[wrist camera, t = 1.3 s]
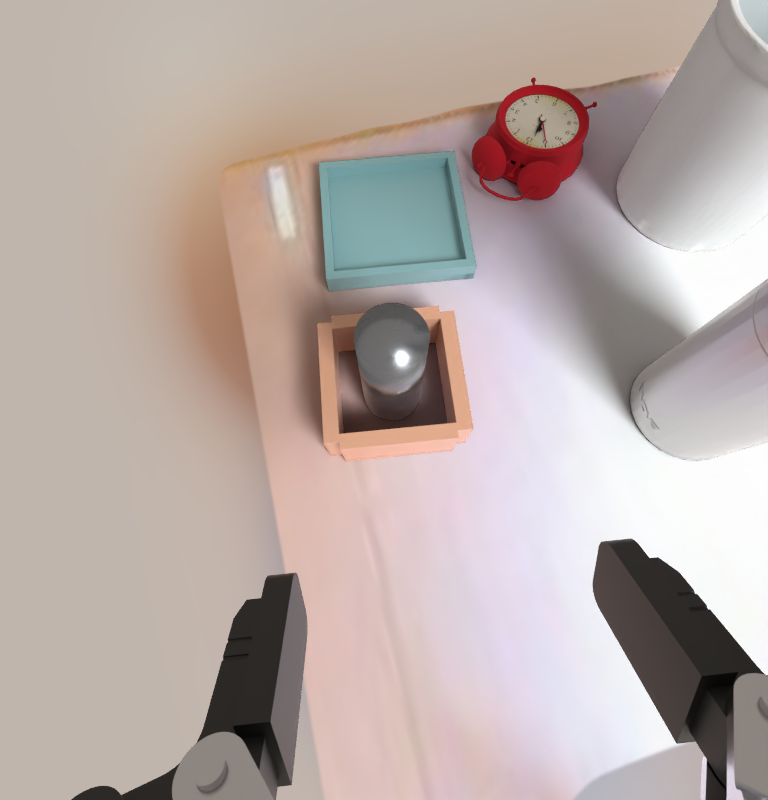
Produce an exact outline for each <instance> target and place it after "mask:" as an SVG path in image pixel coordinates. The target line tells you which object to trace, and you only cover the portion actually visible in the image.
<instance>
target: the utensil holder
mask: <svg viewBox="0 0 768 800" xmlns="http://www.w3.org/2000/svg"><path fill="white" fill-rule="evenodd" d="M617 198H618V202H619V205H620V207H621V209H622V211H623V213H624V214H625V216H626V217H627V219H628V220H629V221H630V222H631V223H632V224H633V226H634V227H636V228H637V229H638V230H639V231H640V232H641V233H642V234H644V235H645V236H647V237H648V238H650V239H651V240H653V241H655V242H657V243H659V244H661V245H663V246H666V247H669V248H672V249H676V250H680V251H687V252H707V251H713V250H717V249H720V248H723V247H726V246H728V245H730V244H731V243H733V242H735V241H736V240H737V239H739V238H740V237H741V236H743V235H744V234H745V233H747V232H748V231H749V230H750V229H751V228H753V227H754V226H755V225H756V224H758V223H759V222H760V221H761V220H762V219H764V218H765V217H766V216H767V215H768V0H718V3H717V7H716V8H715V10H714V11H713V13H712V15H711V16H710V18H709V20H708V21H707V23H706V25H705V26H704V28H703V29H702V31H701V33H700V35H699V36H698V38H697V40H696V42H695V43H694V45H693V46H692V48H691V50H690V52H689V53H688V55H687V57H686V59H685V60H684V62H683V64H682V65H681V67H680V69H679V70H678V72H677V74H676V76H675V77H674V79H673V81H672V82H671V84H670V86H669V88H668V89H667V91H666V93H665V94H664V96H663V98H662V99H661V101H660V103H659V104H658V106H657V108H656V109H655V111H654V113H653V114H652V116H651V118H650V119H649V121H648V123H647V124H646V126H645V128H644V129H643V131H642V133H641V135H640V136H639V138H638V140H637V142H636V144H635V146H634V147H633V149H632V151H631V153H630V155H629V156H628V158H627V160H626V162H625V164H624V165H623V167H622V169H621V171H620V174H619V176H618V180H617Z"/></svg>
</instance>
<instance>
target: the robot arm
mask: <svg viewBox="0 0 768 800" xmlns="http://www.w3.org/2000/svg"><path fill="white" fill-rule="evenodd" d="M630 404H631V410H632V414H633V417H634V419H635V422H636V424H637V425H638V427H639V429H640V430H641V432H642V433H643V434H644V435H645V437H646V438H647V439H648V440H649V441H650V442H651V443H652V444H654V445H655V446H656V447H658V448H659V449H660V450H662V451H664V452H666V453H668V454H670V455H672V456H675V457H678V458H681V459H685V460H695V461H698V460H707V459H711V458H715V457H718V456H721V455H725V454H728V453H731V452H735V451H738V450H742V449H746V448H749V447H752V446H756V445H759V444H763V443H766V442H768V279H767V280H765V281H764V282H763V283H761V284H760V285H759V286H757V287H756V288H754V289H753V290H752V291H750V292H749V293H748V294H746V295H745V296H743V297H742V298H741V299H739V300H738V301H737V302H735V303H734V304H733V305H731V306H730V307H728V308H727V309H726V310H724V311H723V312H722V313H720V314H719V315H717V316H716V317H715V318H713V319H712V320H711V321H709V322H708V323H706V324H705V325H704V326H702V327H701V328H700V329H698V330H697V331H696V332H694V333H693V334H691V335H690V336H689V337H687V338H686V339H685V340H683V341H682V342H680V343H679V344H678V345H676V346H675V347H674V348H672V349H671V350H669V351H668V352H667V353H665V354H664V355H662V356H661V357H660V358H658V359H657V360H656V361H654V362H653V363H652V364H650V365H649V366H647V367H646V368H645V369H644V370H643V371H642V372H641V373H640V374H639V375H638V376H637V378H636V380H635V381H634V383H633V386H632V390H631V396H630ZM593 592H594V596H595V600H596V602H597V605H598V607H599V609H600V611H601V612H602V614H603V616H604V618H605V619H606V621H607V623H608V624H609V626H610V628H611V630H612V631H613V633H614V635H615V637H616V638H617V640H618V642H619V644H620V645H621V647H622V649H623V651H624V652H625V654H626V656H627V658H628V659H629V661H630V663H631V665H632V666H633V668H634V670H635V672H636V673H637V675H638V677H639V679H640V680H641V682H642V684H643V686H644V687H645V689H646V691H647V692H648V694H649V696H650V698H651V699H652V701H653V703H654V705H655V706H656V708H657V710H658V712H659V713H660V715H661V717H662V719H663V720H664V722H665V724H666V726H667V727H668V729H669V731H670V733H671V734H672V736H673V738H674V740H675V741H676V743H677V744H678V743H686V742H695V741H696V742H697V744H698V746H699V747H700V749H701V751H702V752H703V754H704V757H703V760H702V771H701V795H700V800H768V675H765V674H764V673H763V672H762V671H761V670H760V669H759V668H758V667H757V666H756V664H755V663H754V662H753V661H752V660H751V658H750V657H749V656H748V655H747V654H746V652H745V651H744V650H743V649H742V648H741V646H740V645H739V644H738V643H737V642H736V640H735V639H734V638H733V637H732V635H731V634H730V633H729V632H728V631H727V629H726V628H725V627H724V626H723V625H722V623H721V622H720V621H719V620H718V619H717V617H716V616H715V615H714V614H713V613H712V611H711V610H708V609H707V605H706V604H705V603H704V602H703V601H702V599H701V598H700V597H699V596H698V595H697V594H695V593H694V590H693V589H692V587H691V586H690V585H689V584H688V583H687V581H686V580H685V579H684V578H683V577H682V575H681V574H680V573H679V572H678V571H676V570H675V569H674V568H672V567H671V566H669V565H668V564H667V563H665V562H664V561H662V560H661V559H659V558H658V557H657V558H649V557H648V556H647V555H646V553H645V552H644V551H643V549H642V548H641V547H640V546H639V544H638V543H637V542H636V541H635V540H633V539H623V540H613V541H604V542H601V543H600V545H599V549H598V555H597V561H596V567H595V572H594V578H593ZM306 642H307V615H306V609H305V605H304V601H303V596H302V592H301V588H300V583H299V579H298V575H297V573H289V574H280V575H270V576H267V578H266V580H265V584H264V588H263V593H262V597H261V598H260V599H250V600H246V602H245V603H244V605H243V606H242V607H241V609H240V610H239V612H238V613H237V615H236V616H235V618H234V619H233V623H232V627H231V630H230V634H229V638H228V643H227V645H226V648H225V652H224V655H223V661H222V663H221V666H220V670H219V674H218V677H217V681H216V684H215V688H214V691H213V695H212V699H211V702H210V706H209V709H208V713H207V717H206V720H205V724H204V727H203V730H202V733H201V735H200V737H199V739H198V741H197V743H196V744H195V745H194V746H193V747H192V748H191V749H190V750H189V751H188V752H187V754H186V755H185V756H184V758H183V759H182V761H181V762H180V763H179V764H178V765H177V766H176V767H175V768H174V769H172V770H171V771H169V772H168V773H166V774H164V775H162V776H161V777H158V778H156V779H154V780H152V781H150V782H148V783H146V784H144V785H142V786H140V787H138V788H135V789H133V790H131V791H129V792H127V793H125V794H123V795H120V793H119V792H118V791H117V790H115V789H114V788H112V787H109V786H98V787H94V788H91V789H89V790H86V791H84V792H82V793H80V794H79V795H77V796H76V797H74V798H73V799H72V800H276V794H277V787H278V786H287V785H292V776H293V765H294V757H295V747H296V737H297V728H298V719H299V709H300V699H301V690H302V680H303V671H304V661H305V652H306Z"/></svg>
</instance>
